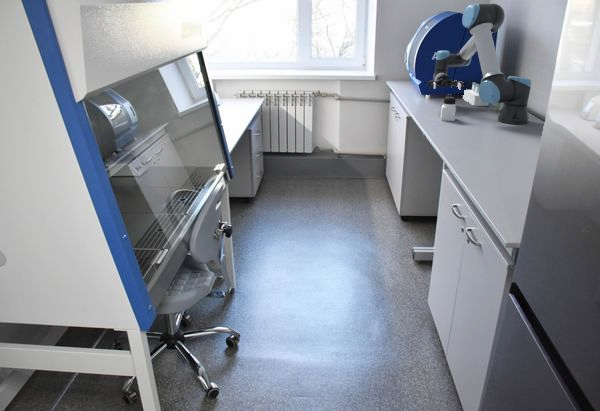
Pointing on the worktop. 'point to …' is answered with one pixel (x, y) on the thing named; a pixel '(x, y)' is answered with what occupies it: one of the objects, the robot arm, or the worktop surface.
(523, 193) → the worktop surface
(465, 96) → the tube rack
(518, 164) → the worktop surface
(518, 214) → the worktop surface
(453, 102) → the medicine bottle
